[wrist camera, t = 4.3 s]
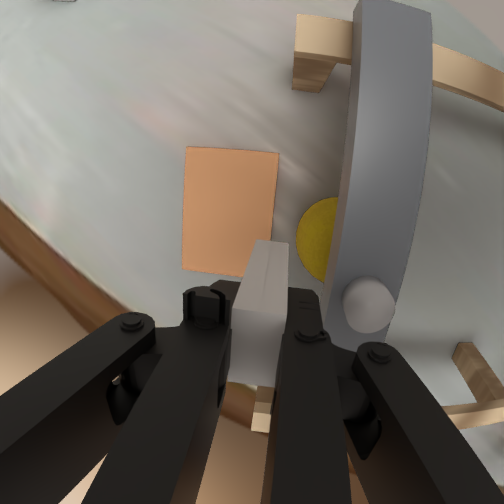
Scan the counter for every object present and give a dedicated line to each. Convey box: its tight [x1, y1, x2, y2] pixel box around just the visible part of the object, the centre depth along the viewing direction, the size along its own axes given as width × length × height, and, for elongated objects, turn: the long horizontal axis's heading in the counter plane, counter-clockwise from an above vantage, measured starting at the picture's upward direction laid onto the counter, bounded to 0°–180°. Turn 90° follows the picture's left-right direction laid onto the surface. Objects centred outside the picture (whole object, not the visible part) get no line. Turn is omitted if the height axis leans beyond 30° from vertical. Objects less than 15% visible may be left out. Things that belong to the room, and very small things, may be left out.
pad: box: [182, 147, 279, 277], centre depth 24 cm, size 7×10×1 cm
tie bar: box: [320, 0, 433, 352], centre depth 13 cm, size 3×25×3 cm, turn 175°
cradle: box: [251, 14, 504, 432], centre depth 19 cm, size 22×24×10 cm
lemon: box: [296, 197, 338, 283], centre depth 20 cm, size 6×6×8 cm
